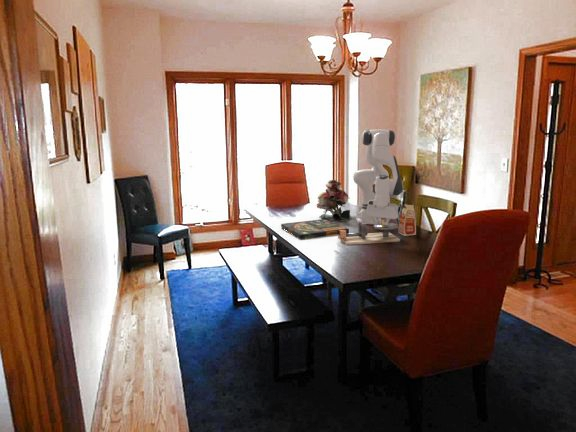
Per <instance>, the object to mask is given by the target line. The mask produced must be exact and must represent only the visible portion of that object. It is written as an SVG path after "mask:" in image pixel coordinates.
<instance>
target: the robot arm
mask: <svg viewBox="0 0 576 432" xmlns="http://www.w3.org/2000/svg"><path fill="white" fill-rule="evenodd" d="M395 141H396V134H395V132H394V131H393V130H391V129H365V130H364V131H363V132H362V133H361V143H362V144H363V145H364V146H366V151H365V152H366V153H365V158H364V159H365V160H364V161H365V163H366V164H367V165H369V166H370V167H371V168H367V169H359V170H355V172H354V173H353V175H352V177H353V181H354V183H355V184H356V185H358V186H359V188H360V190H361V193H362V205H361V210H360V211H359V212H357V217H356V218H355V219H356V222H357V223H358V224H359V221H362V222H364V223H365V224H366V225H374V224H379V223H382V219H386V222H385V225H388V222H390V221H391V220H397V219H399V206H398V204H396V203H392V202H391V199H390V198H391V197H390V196H399V195H401V194H402V193H403V191H404V184H403V181H402V176H401V174H400V169H399V164H398V160H397V158H396V156H395V155H393V154H392V152H391V148H390V146H391V147H392V146H393V145H394V144H395ZM383 165H385V166H387V167H389V168H390V169H391V172H392V177H393V178H390V177H389V175H390V174H389V172H388V171H387V169H386V168H385V167H384V166H383Z"/></svg>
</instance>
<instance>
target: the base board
mask: <svg viewBox="0 0 576 432" xmlns="http://www.w3.org/2000/svg"><path fill="white" fill-rule="evenodd" d="M366 227H367V224H365V223H364V222H362V221H359V223H358V233H362V236H355V237H346V239H340V238H339V234H338V235H337V238H338V239H339V240H340V241H341V242H342V243H343V245H345V246H349V245H350V246H351V245H366V244H381V243H384V244H385V243H397V242H398V243H399V242H401V239H400V238H399V237H398V236H396V235H394V234H393V233H391V232H390V230H382V232H373V233H372V232H370V233H368V232H367V231H366V229H367V228H366ZM366 232H367V236H366Z"/></svg>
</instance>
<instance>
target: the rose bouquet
mask: <svg viewBox="0 0 576 432" xmlns="http://www.w3.org/2000/svg"><path fill="white" fill-rule="evenodd" d="M325 186H326V189H325V191H323V192H321V193H320V194H319V195H318V196H317V201H318V202H317V204H316V208H317V209H322V210H323V214H321V215H320V216H319V218H320V220H321V219H327V220H329V221H332V222H338V219H337V218H340V219H341V222H345V223H349V222H350V220H351V219H350V217H351V210H350V209H346V210H343V211H342V207H343V208H346V207H345V205H346V204H347V203H348V201H349V200H348V199H349V194H348V193H347V192H346V191H344V190H343V187H342V182H339V181H338V180H337V179H332V180H328V181H327V183H326V184H325ZM339 206H340V207H339ZM327 212H330V213H331V214H327ZM336 219H337V220H336Z"/></svg>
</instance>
